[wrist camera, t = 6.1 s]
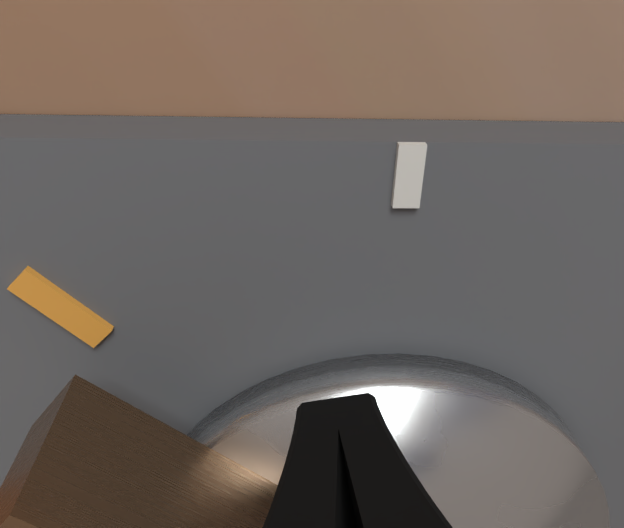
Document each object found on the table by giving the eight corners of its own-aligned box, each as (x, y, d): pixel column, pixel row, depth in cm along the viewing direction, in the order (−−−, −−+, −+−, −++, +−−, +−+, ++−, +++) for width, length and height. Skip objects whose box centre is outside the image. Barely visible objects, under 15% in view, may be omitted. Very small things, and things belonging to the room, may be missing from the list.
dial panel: (869, 125, 12) (949, 150, 11) (609, 656, 22) (633, 706, 20) (-128, 112, 11) (-189, 138, 10) (61, 679, 21) (45, 734, 19)
